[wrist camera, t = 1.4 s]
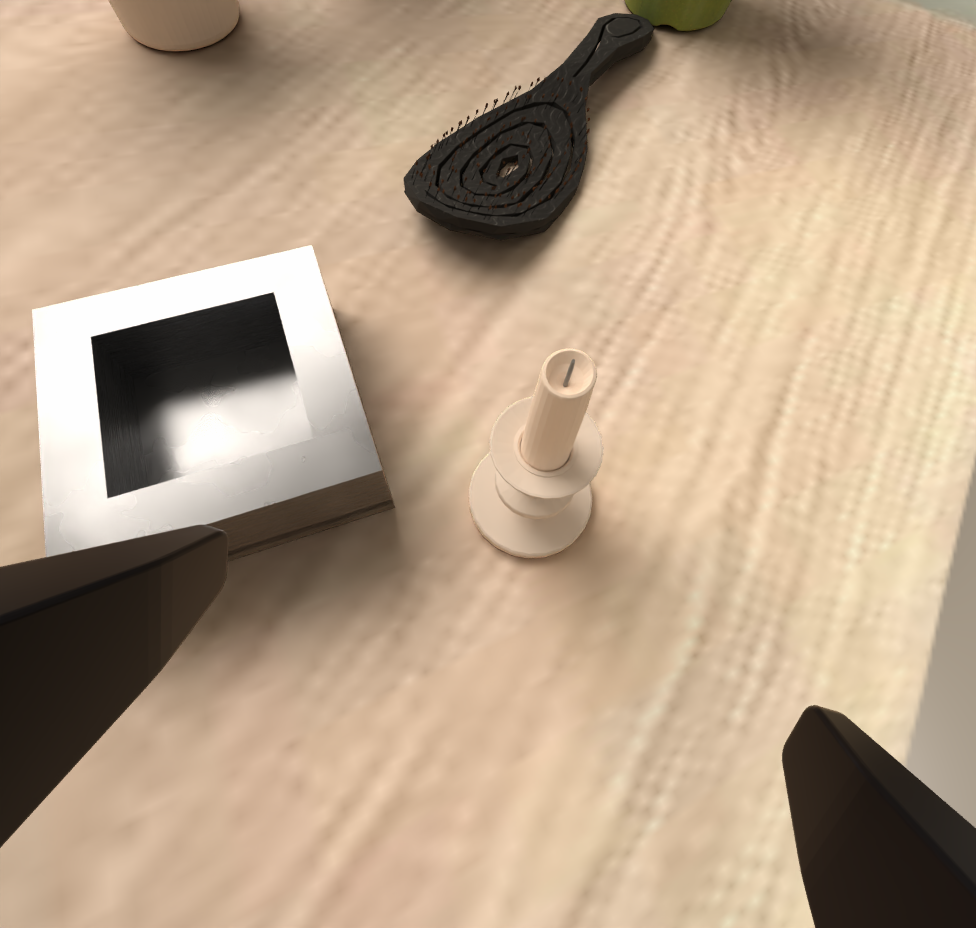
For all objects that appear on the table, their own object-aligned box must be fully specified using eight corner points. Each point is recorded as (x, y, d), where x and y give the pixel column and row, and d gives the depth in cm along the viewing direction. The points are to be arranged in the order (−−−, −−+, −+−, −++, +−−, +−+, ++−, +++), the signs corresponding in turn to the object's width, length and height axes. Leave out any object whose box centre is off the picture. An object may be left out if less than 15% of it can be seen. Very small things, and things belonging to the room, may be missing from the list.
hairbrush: (710, 2, 35) (510, 229, 25) (688, 65, 38) (502, 289, 28) (595, -41, 36) (360, 157, 26) (582, 24, 40) (370, 221, 30)
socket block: (395, 507, 23) (382, 469, 19) (118, 596, 21) (46, 573, 18) (332, 307, 27) (311, 245, 23) (94, 367, 25) (32, 309, 22)
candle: (550, 583, 22) (614, 491, 13) (444, 514, 23) (430, 380, 14) (611, 484, 24) (709, 338, 14) (511, 423, 25) (539, 250, 16)
